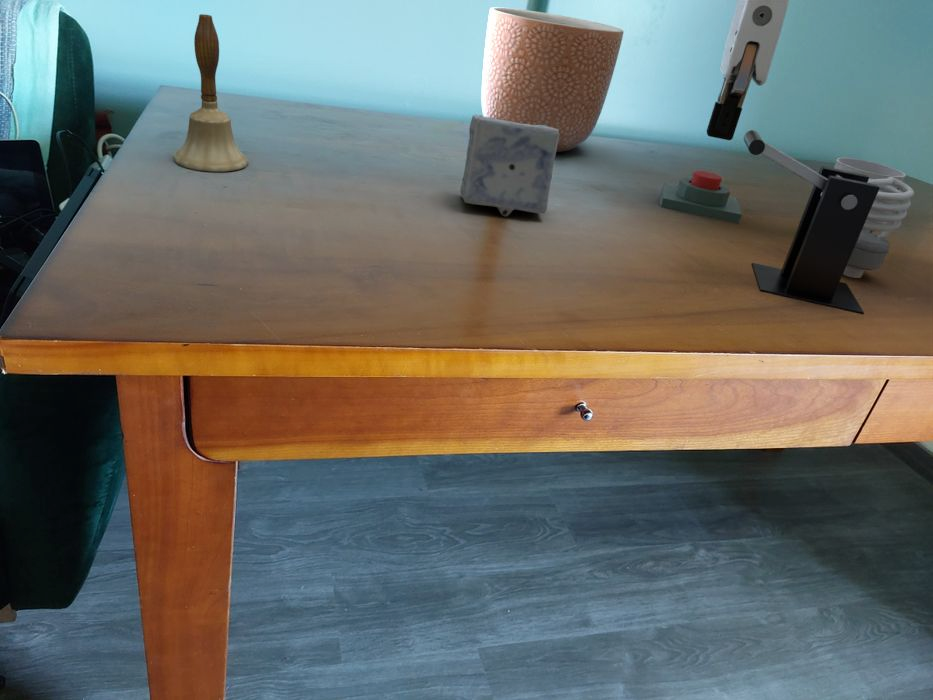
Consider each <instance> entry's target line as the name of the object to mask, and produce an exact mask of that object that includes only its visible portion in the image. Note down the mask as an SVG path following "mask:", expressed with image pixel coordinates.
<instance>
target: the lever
mask: <svg viewBox="0 0 933 700" xmlns="http://www.w3.org/2000/svg"><path fill="white" fill-rule="evenodd" d="M743 141H744V143H745V145H746V148H747V150H748V152H749V154H751V155H753V156H759V155H763V156H764V157H765V158H768V159H769V160H771V161H773V162H774V163H776V164H778V165H779V166H781V167H783V168H785V169H786V170H787V171H789V172H791V173H793V174H795V175H796V176H798V177H800V178H801V179H803V180H804V181H807V182H808V183H810V184H812V185H813V186H814V185H815V186H817V187H818V188H820V189H822V190H824V188H825V185H826V183H827V180H828V179H827V178H826V177H824V176H822V175H821V174H819V172H817V171H815V170H814V169H813V168H811V167H809V166H807V165H805V164H804V163H802V162H800V161H798V160H797V159H795V158H794V157H792V156H790V155H789V154H787V153H785V152H784V151H781V150H780V149H778V148H776V147H775V146H773V145H772V144H769V142H766V141H765V140H763V139H762V137H761V135H760V134H759V132H758V131H757V130H753V129H751V130H748V131H746V133H745V134H744V136H743ZM835 177H840V178H842V177H841V176H839V175H837V174H836V175H835ZM822 193H823V191H822ZM822 193H821V194H820V196H821V195H822Z"/></svg>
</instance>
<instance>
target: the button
mask: <svg viewBox="0 0 933 700" xmlns="http://www.w3.org/2000/svg"><path fill="white" fill-rule="evenodd" d="M691 178H692V181H691V184H692V185H694V186H697V187H700V188H704V189H709V190H718V189H719V186H720V184H722V183H721V182H722V180H723V177H722V175H721V176H720V175H719V174H717V173H714V172H710V171H704V170H694V171H693V175H692V177H691Z"/></svg>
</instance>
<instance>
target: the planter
mask: <svg viewBox="0 0 933 700" xmlns="http://www.w3.org/2000/svg"><path fill="white" fill-rule="evenodd" d="M485 34H486V35H485V44H484V53H483V64H482V67H483V68H482V76H481V110H482V116H485V117H488V118H494V119H498V120H506V121H511V122H516V123H522V124H529V125H545V126H548V127H552V128H555V129H558V130H559V141H558V144H557V151H556V153H559V152H568V151H571V150H573V149H575V148H577V147H578V146H580V145H581V144H582V143H584V142H585V141H586V140H587V139H588V138H590V136H591V134H592V133H593V132H594V130H595V128H596V126H597V124H598V121H599V118H600V116H601V113H602V111H603V108H604V105H605V102H606V99H607V95H608V92H609V89H610V86H611V83H612V79H613V76H614V72H615V68H616V65H617V61H618V58H619V54H620V49H621V46H622V42H623V38H624V30H623V29H622V28H619V27H616V26H612V25H609V24H605V23H600V22H597V21H592V20H587V19H583V18H582V19H581V18H576V17H571V16H567V15H561V14H554V13H548V12H542V11H537V10H536V11H535V10H527V9H523V8H522V9H521V8H513V7H503V6H502V7H501V6H500V7H499V6H494V7H493V6H492V7H490V8H489V12H488V20H487V28H486V33H485Z"/></svg>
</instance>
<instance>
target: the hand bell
mask: <svg viewBox="0 0 933 700" xmlns="http://www.w3.org/2000/svg"><path fill="white" fill-rule="evenodd" d="M197 22H198V23H197V25H196V29H195V33H194V37H193V38H194V41H193V43H194V44H193V45H194V54H195V60H196V64H197V66H198V69H199V73H200V74H199V75H200V93H201V94H200V100H201V107H200V108H199V109H196V110H195V111H193V112H191V113H190V114H189V118H188V119H189V120H188V127H187V128H188V129H187V134H186V139H185V141H184V143H183V145H182V146H181V147H180V149H178V150H177V152H176V153H175V154H174V156H173V161H174V163H176V164H177V165H178V166H181V167H183V168H185V169H190V170H194V171H201V172H210V173H211V172H215V173H223V172H225V173H226V172H233V171H238V170H242V169H244V168H246V167H247V166H248V164H249V161H248V159H247V157H246V156H245V154H243V153H242V151H241V150H240V149H239V147H238V145H237V143H236V140H235V138H234V133H233V129H232V121H231V118H230V116H229V115H228V114H227V113H225V112H223V111H221V110H220V109H219V105H218V96H217V84H216V73H217V69H218V65H219V60H220V41H219V37H218V33H217V29H216V27H215V24H214V21H213V16H212V15H210V14H203V13H202V14H199V15H198V21H197Z"/></svg>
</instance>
